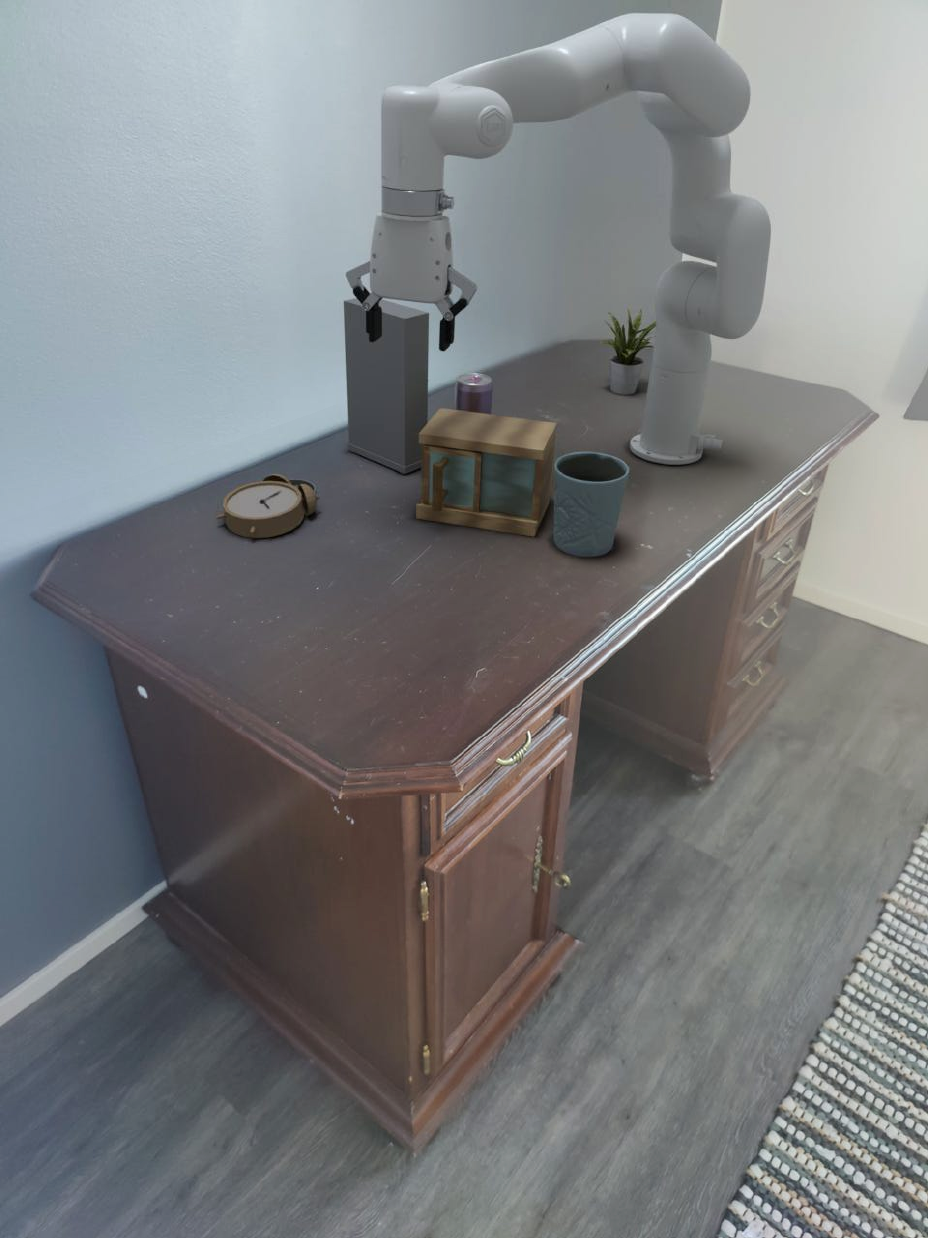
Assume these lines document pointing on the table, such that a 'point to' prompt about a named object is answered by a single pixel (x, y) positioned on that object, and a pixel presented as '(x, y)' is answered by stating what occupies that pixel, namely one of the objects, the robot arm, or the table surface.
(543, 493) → the curio cabinet
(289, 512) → the alarm clock
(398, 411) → the cassette tape recorder
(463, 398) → the beverage can
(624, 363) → the house plant
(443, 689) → the table surface
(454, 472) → the cabinet door
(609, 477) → the blue-grey pot
